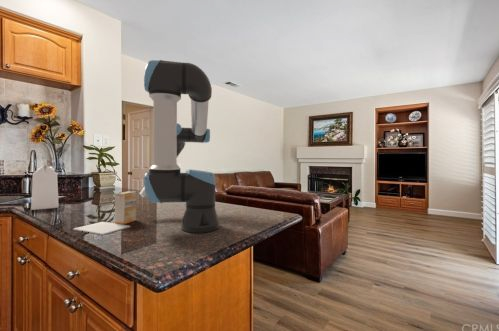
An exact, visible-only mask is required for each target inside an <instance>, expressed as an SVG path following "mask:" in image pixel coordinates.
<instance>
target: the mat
mask: <svg viewBox="0 0 499 331" xmlns="http://www.w3.org/2000/svg"><path fill="white" fill-rule="evenodd" d="M129 228H131V225H128V224H124V225H122V224H115V222H107V221H99V222H94V223H92V224H87V225H83V226H79V227H74V228H73V229H72V230H73V231H79V232H82V231H83V232H84V233H88V232H89V234H96V235H99V236H105V235H107V234H111V233H114V232H115V233H116V232H119V231H121V230H125V229H129Z"/></svg>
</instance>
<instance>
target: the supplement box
mask: <svg viewBox="0 0 499 331" xmlns="http://www.w3.org/2000/svg"><path fill="white" fill-rule="evenodd" d="M137 193H138V192H137V191H135V190H134V191H131V190H130V191H123V192H116V193H114V223H115V224H121V225H128V224H129V223H133V222H135V221H137Z"/></svg>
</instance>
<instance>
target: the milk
mask: <svg viewBox="0 0 499 331" xmlns="http://www.w3.org/2000/svg"><path fill="white" fill-rule="evenodd" d="M47 161H48V160H45V159H44V160H43V161H42V164H43V165H42V166H41V167H39V168H38V169H36V170H35V171H34V172H33V173H32V180H31V181H32V184H31V201H30V202H31V203H30V204H31V205H30V206H31V207H30V211H32V210H33V211H34V210H45V209H47V210H48V209H56V208H58V209H59V186H58V172H56V171H55V170H56V169H55V168H54V167H53V166H49V165H48V162H47Z"/></svg>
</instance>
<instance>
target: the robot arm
mask: <svg viewBox="0 0 499 331" xmlns="http://www.w3.org/2000/svg"><path fill="white" fill-rule="evenodd" d="M143 82H144V84H143V85H144V86H143V87H144V91H145V92H147V93H148V96H149V98H150V99H151V100H152V101H153V106H152V107H153V108H152V109H153V115H152V116H153V117H152V118H153V119H152V120H153V122H152V123H153V125H152V128H153V132H152V133H153V134H152V135H153V136H152V137H153V138H152V139H153V149H152V150H153V152H152V153H153V156H152V158H153V159H152V160H153V161H152V162H153V163H152V165H151V166H150V167H148V169H147V172H145V174H144V176H143V177H144V179H143V183H144V185H143V187H142V189H141V191H139V193H138V194H139V195H140V196H141V197H142V198H146V199H147V200H148V201H149V202H150V203H155V204H156V203H157V204H163V203H165V204H166V203H185V211H184V213H183V216H182V220H181V222H180V227H181V228H180V230H182V231H184V232H186V233H187V232H188V233H193V234H194V233H195V234H196V233H209V232H214V231H217V230H218V229H220V219H219V216H218V213H217V210H216V185H217V183H216V174H214V173H213V172H212V171H211V172H209V171H206V170H198V169H186V170H185V172H181V166H179V165H178V163H177V162H178V161H177V158H179V155H180V154H181V152H182V151H183V150H184V148H185V147H186V143H199V144H200V143H202V144H205V143H206V144H207V143H209V142H210V141H211V130H210V128H208V115H209V101H210V100H211V98H212V96H213V95H212V92H213V91H212V88H213V87H212V84H211V82H210V79H209V77H208V76H207V74H206V72H204V70H203V69H201V68H200V67H199V66H197V65H196V64H193V63H192V62H180V61H169V60H162V59H160V60H154V59H151V60H149V61H148V62H147V63H146V66H145V69H144V76H143ZM182 95H188V97H189V99H190V112H191V113H190V116H191V127H182V125H181V124H180V123H178V102H179V101H181V100H182Z"/></svg>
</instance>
